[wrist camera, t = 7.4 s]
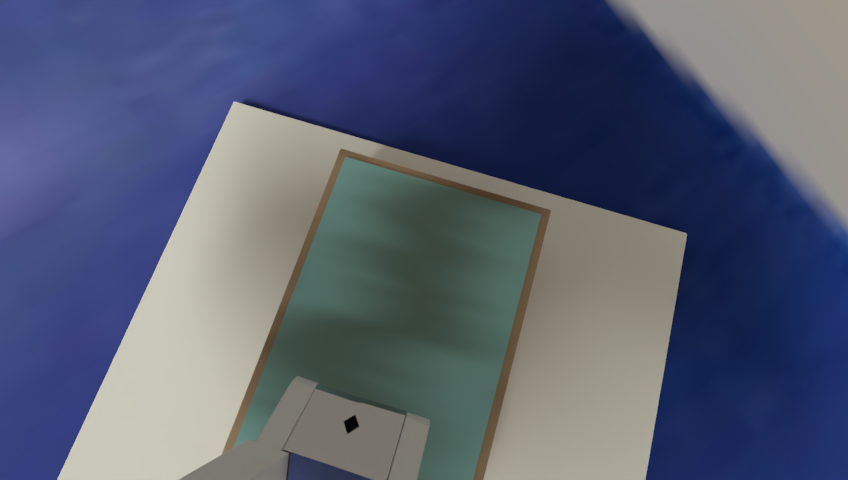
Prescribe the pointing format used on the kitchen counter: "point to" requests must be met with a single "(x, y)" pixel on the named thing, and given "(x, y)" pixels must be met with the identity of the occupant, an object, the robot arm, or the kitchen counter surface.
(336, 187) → the teal-faced wooden block
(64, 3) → the kitchen counter surface
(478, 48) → the kitchen counter surface
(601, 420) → the mat
